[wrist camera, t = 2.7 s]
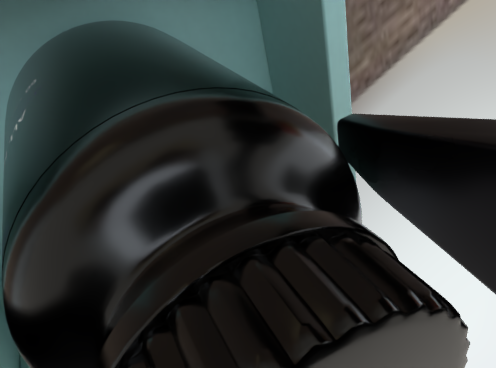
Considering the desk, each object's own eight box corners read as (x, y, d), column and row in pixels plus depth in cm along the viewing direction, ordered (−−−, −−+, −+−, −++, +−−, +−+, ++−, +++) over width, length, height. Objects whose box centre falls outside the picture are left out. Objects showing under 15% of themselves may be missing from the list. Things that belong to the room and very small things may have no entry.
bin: (252, -121, 13) (337, -147, 10) (299, 175, 19) (359, 221, 16) (-271, 5, 9) (-433, 35, 6) (7, 318, 16) (6, 416, 12)
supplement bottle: (-52, 76, 11) (-336, 659, 2) (166, -18, 13) (588, 63, 3) (80, 241, 15) (187, 682, 6) (233, 155, 17) (509, 406, 8)
